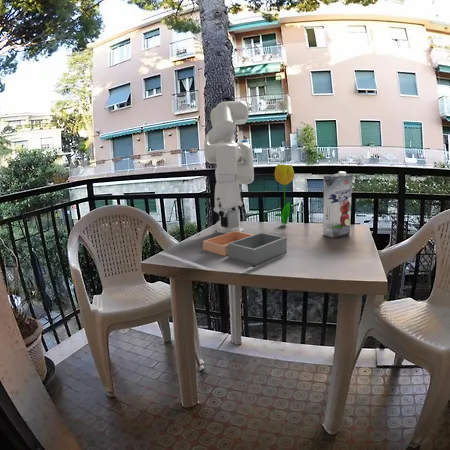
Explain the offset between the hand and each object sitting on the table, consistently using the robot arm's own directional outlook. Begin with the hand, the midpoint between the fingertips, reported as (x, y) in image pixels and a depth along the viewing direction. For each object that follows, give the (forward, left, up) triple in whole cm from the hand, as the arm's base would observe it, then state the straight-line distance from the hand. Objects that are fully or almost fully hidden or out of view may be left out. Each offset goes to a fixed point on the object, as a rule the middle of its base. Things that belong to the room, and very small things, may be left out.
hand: (229, 224), depth 124 cm
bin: (+15, -1, -10) cm, 18 cm away
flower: (-4, +42, -10) cm, 44 cm away
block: (0, 0, -1) cm, 1 cm away
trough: (+1, -1, -10) cm, 10 cm away
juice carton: (+24, +40, -10) cm, 48 cm away
